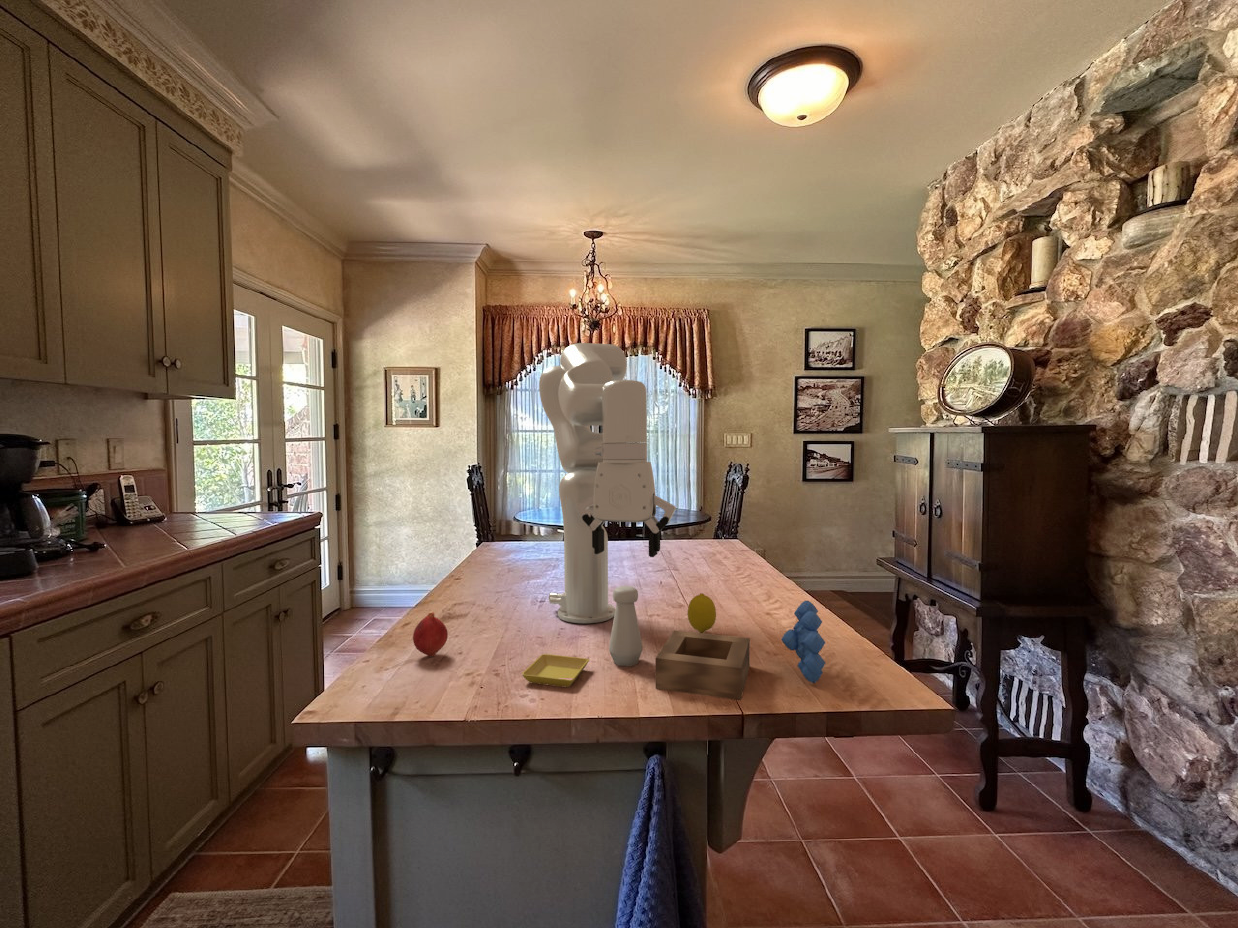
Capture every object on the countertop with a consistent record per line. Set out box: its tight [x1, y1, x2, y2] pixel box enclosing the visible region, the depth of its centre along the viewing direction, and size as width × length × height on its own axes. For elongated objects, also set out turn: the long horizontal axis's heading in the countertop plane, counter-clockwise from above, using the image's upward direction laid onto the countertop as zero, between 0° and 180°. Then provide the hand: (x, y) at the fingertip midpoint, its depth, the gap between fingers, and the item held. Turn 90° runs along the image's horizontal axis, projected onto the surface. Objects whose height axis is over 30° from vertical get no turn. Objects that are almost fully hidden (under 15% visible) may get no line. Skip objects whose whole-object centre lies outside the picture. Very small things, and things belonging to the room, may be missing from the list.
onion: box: [412, 611, 449, 657], centre depth 101 cm, size 6×6×8 cm
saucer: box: [521, 653, 590, 688], centre depth 92 cm, size 9×9×2 cm
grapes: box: [780, 600, 826, 684], centre depth 91 cm, size 12×7×12 cm, turn 173°
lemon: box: [687, 593, 717, 634], centre depth 111 cm, size 6×6×8 cm
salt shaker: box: [608, 585, 644, 668], centre depth 97 cm, size 6×6×13 cm
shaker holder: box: [654, 630, 751, 701], centre depth 91 cm, size 13×13×5 cm
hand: (625, 554), depth 97 cm, fingers open, 9 cm apart
